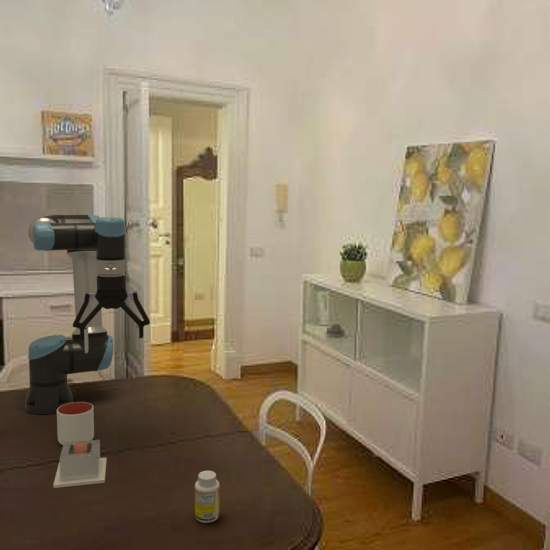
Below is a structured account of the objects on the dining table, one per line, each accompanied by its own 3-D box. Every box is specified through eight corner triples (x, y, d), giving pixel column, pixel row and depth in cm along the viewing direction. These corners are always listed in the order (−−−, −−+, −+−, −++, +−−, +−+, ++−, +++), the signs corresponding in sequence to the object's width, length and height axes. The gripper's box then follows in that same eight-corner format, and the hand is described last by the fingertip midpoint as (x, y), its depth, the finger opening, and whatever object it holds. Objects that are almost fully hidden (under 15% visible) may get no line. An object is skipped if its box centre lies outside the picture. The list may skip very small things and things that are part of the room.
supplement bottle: (207, 507, 128) (208, 465, 127) (224, 516, 125) (225, 474, 123) (189, 517, 124) (189, 475, 122) (206, 527, 120) (206, 483, 119)
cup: (82, 450, 154) (81, 416, 153) (50, 446, 156) (49, 413, 155) (100, 435, 164) (99, 403, 162) (70, 431, 166) (69, 400, 164)
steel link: (64, 463, 145) (63, 442, 144) (100, 460, 147) (99, 439, 146) (60, 481, 136) (59, 458, 135) (98, 477, 138) (97, 455, 138)
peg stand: (59, 464, 146) (58, 436, 145) (106, 460, 149) (105, 432, 148) (53, 488, 134) (52, 457, 133) (104, 482, 138) (104, 452, 136)
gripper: (60, 277, 142) (62, 356, 145) (158, 276, 148) (159, 352, 151) (63, 273, 149) (66, 348, 152) (157, 272, 155) (157, 344, 159)
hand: (112, 350), depth 152 cm, fingers open, 13 cm apart
